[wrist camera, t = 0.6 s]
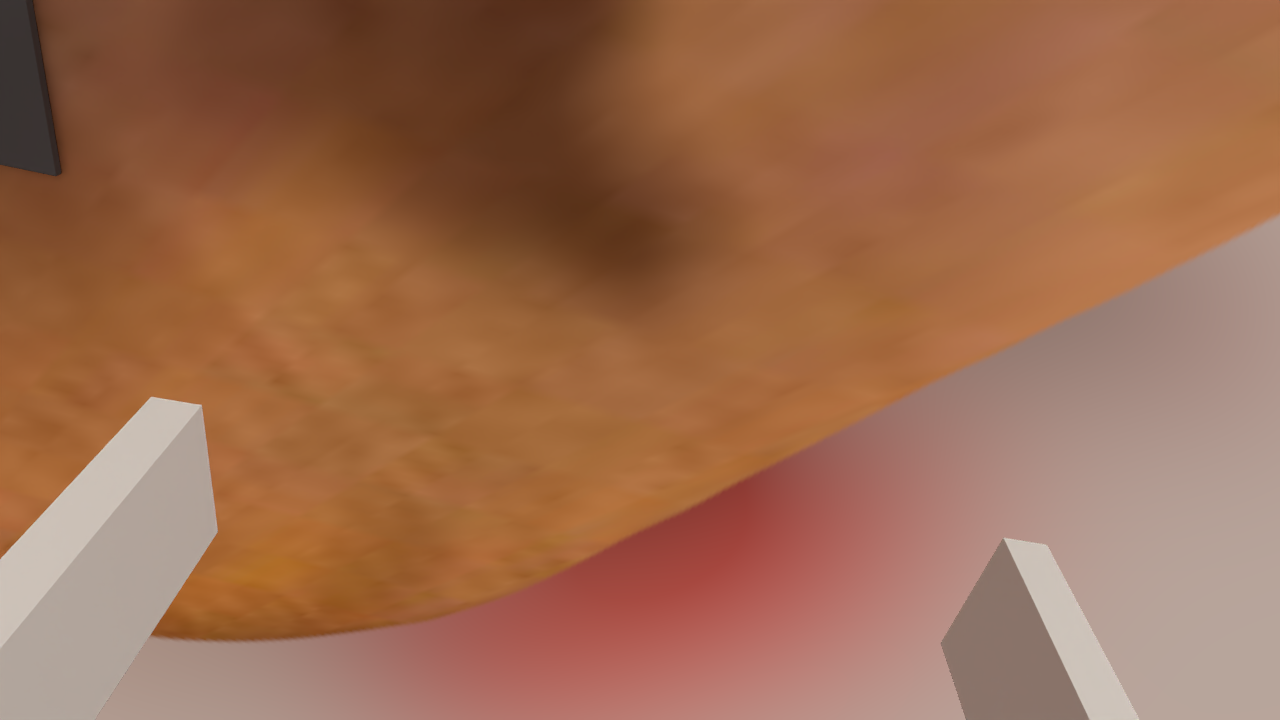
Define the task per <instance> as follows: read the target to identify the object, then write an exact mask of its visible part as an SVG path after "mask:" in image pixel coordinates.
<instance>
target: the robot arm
mask: <svg viewBox="0 0 1280 720" xmlns="http://www.w3.org/2000/svg"><path fill="white" fill-rule="evenodd" d="M217 532H218V529H217V521H216V513H215V505H214V497H213V490H212V482H211V474H210V466H209V458H208V450H207V443H206V435H205V427H204V419H203V411H202V405H198V404H191V403H185V402H179V401H173V400H167V399H161V398H155V397H151V398H150V399H149V400H148V401H147V402H146V403H145V404H144V405H143V406H142V407H141V408H140V409H139V411H138V412H137V413H136V414H135V415H134V416H133V417H132V418H131V419H130V420H129V421H128V422H127V423H126V425H125V426H124V427H123V428H122V429H121V430H120V431H119V432H118V433H117V434H116V435H115V436H114V437H113V439H112V440H111V441H110V442H109V443H108V444H107V445H106V446H105V447H104V448H103V449H102V450H101V451H100V452H99V454H98V455H97V456H96V457H95V458H94V459H93V460H92V461H91V462H90V463H89V464H88V465H87V466H86V468H85V469H84V470H83V471H82V472H81V473H80V474H79V475H78V476H77V477H76V478H75V479H74V480H73V482H72V483H71V484H70V485H69V486H68V487H67V488H66V489H65V490H64V491H63V492H62V493H61V494H60V496H59V497H58V498H57V499H56V500H55V501H54V502H53V503H52V504H51V505H50V506H49V507H48V508H47V510H46V511H45V512H44V513H43V514H42V515H41V516H40V517H39V518H38V519H37V520H36V521H35V522H34V523H33V525H32V526H31V527H30V528H29V529H28V530H27V531H26V532H25V533H24V534H23V535H22V536H21V537H20V539H19V540H18V541H17V542H16V543H15V544H14V545H13V546H12V547H11V548H10V549H9V550H8V551H7V553H6V554H5V555H4V556H3V557H2V558H1V559H0V720H95V719H96V717H97V716H98V714H99V713H100V711H101V710H102V708H103V707H104V705H105V703H106V702H107V700H108V699H109V697H110V696H111V694H112V693H113V691H114V690H115V688H116V687H117V685H118V684H119V682H120V681H121V679H122V678H123V676H124V674H125V673H126V671H127V670H128V668H129V667H130V665H131V664H132V662H133V661H134V659H135V657H136V656H137V654H138V653H139V652H140V650H141V648H142V647H143V645H144V644H145V642H146V641H147V639H148V638H149V636H150V635H151V633H152V632H153V630H154V629H155V627H156V625H157V624H158V622H159V621H160V619H161V618H162V616H163V615H164V613H165V612H166V610H167V609H168V607H169V606H170V604H171V603H172V601H173V599H174V598H175V596H176V595H177V593H178V592H179V590H180V589H181V587H182V586H183V584H184V583H185V581H186V580H187V578H188V577H189V575H190V573H191V572H192V570H193V569H194V567H195V566H196V564H197V563H198V561H199V560H200V558H201V557H202V555H203V554H204V552H205V550H206V549H207V547H208V546H209V544H210V543H211V541H212V540H213V538H214V537H215V535H216V534H217ZM941 646H942V649H943V652H944V654H945V658H946V661H947V664H948V667H949V669H950V673H951V676H952V679H953V682H954V685H955V687H956V691H957V694H958V697H959V700H960V703H961V706H962V709H963V712H964V714H965V718H966V720H1139V718H1138V716H1137V714H1136V712H1135V710H1134V709H1133V707H1132V705H1131V703H1130V701H1129V699H1128V697H1127V695H1126V693H1125V691H1124V690H1123V688H1122V686H1121V684H1120V682H1119V680H1118V678H1117V676H1116V674H1115V673H1114V671H1113V669H1112V667H1111V665H1110V663H1109V661H1108V659H1107V658H1106V656H1105V654H1104V652H1103V650H1102V648H1101V646H1100V644H1099V642H1098V641H1097V639H1096V637H1095V635H1094V633H1093V631H1092V630H1091V627H1090V626H1089V624H1088V622H1087V620H1086V618H1085V616H1084V614H1083V612H1082V610H1081V608H1080V607H1079V605H1078V603H1077V601H1076V599H1075V597H1074V595H1073V593H1072V591H1071V590H1070V588H1069V586H1068V584H1067V582H1066V580H1065V578H1064V576H1063V575H1062V573H1061V571H1060V569H1059V567H1058V565H1057V563H1056V561H1055V560H1054V558H1053V556H1052V554H1051V552H1050V550H1049V548H1048V546H1047V545H1045V544H1038V543H1032V542H1027V541H1020V540H1015V539H1008V538H1003V539H1002V541H1001V543H1000V544H999V546H998V548H997V549H996V551H995V553H994V554H993V556H992V558H991V559H990V561H989V563H988V564H987V566H986V568H985V570H984V571H983V573H982V575H981V576H980V578H979V580H978V581H977V583H976V585H975V586H974V588H973V590H972V591H971V593H970V595H969V596H968V598H967V600H966V601H965V603H964V605H963V607H962V608H961V610H960V611H959V613H958V615H957V617H956V618H955V620H954V622H953V623H952V625H951V627H950V628H949V630H948V632H947V633H946V635H945V637H944V639H943V640H942V642H941Z"/></svg>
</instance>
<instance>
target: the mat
mask: <svg viewBox="0 0 1280 720" xmlns="http://www.w3.org/2000/svg"><path fill="white" fill-rule="evenodd" d="M0 165H5V166H10V167H14V168H19V169H24V170H29V171H34V172H38V173H43V174H48V175H53V176H57V175H59V174H61V167H60V161H59V155H58V150H57V144H56V138H55V132H54V126H53V120H52V114H51V108H50V102H49V96H48V90H47V84H46V78H45V72H44V66H43V61H42V55H41V49H40V43H39V37H38V31H37V25H36V19H35V13H34V7H33V1H32V0H0Z"/></svg>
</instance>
